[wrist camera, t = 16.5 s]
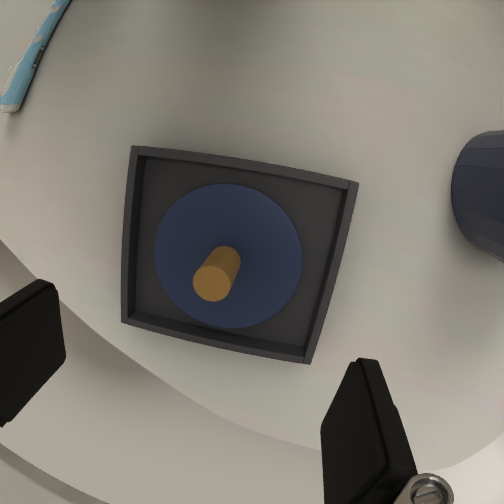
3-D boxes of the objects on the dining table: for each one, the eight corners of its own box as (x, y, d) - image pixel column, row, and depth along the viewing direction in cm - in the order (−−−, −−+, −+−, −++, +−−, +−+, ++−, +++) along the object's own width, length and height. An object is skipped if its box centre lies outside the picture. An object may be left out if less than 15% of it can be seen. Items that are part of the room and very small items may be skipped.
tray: (130, 312, 33) (120, 322, 30) (142, 146, 28) (131, 145, 25) (309, 351, 32) (310, 365, 29) (353, 181, 27) (359, 182, 24)
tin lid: (154, 306, 32) (126, 338, 25) (166, 172, 28) (133, 176, 21) (284, 334, 31) (283, 375, 25) (316, 198, 27) (326, 209, 21)
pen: (20, 117, 28) (4, 116, 25) (8, 111, 28) (-8, 110, 25) (91, -23, 22) (79, -32, 19) (75, -24, 22) (63, -32, 19)
